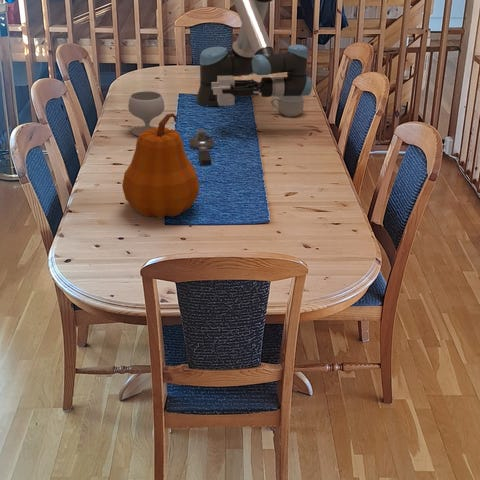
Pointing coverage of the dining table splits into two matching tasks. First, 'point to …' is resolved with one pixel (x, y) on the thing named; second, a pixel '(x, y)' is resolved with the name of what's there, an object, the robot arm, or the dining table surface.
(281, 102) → the teacup
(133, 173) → the decorative pumpkin
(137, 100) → the chalice
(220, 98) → the tall taupe upright block
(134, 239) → the dining table surface
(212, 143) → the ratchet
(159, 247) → the dining table surface
